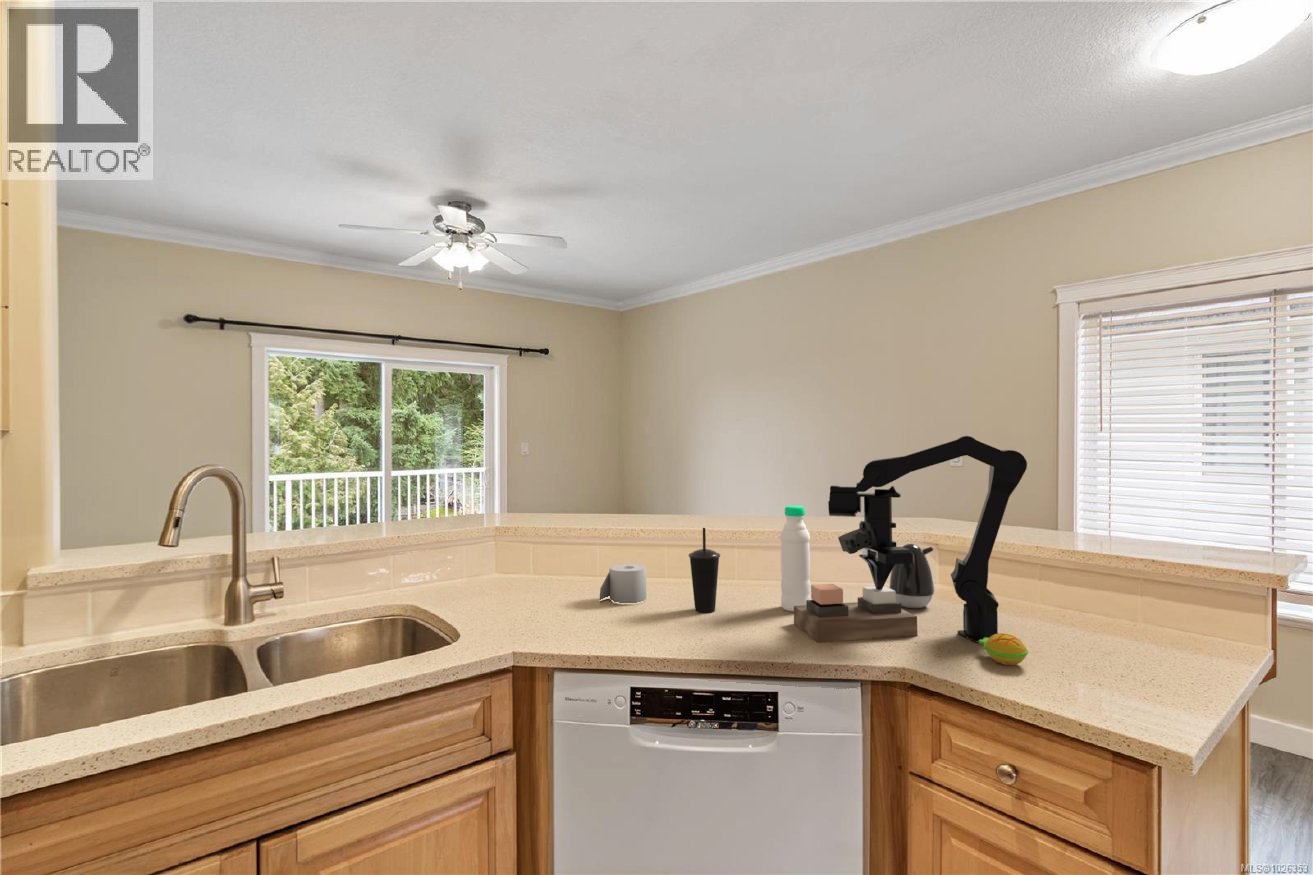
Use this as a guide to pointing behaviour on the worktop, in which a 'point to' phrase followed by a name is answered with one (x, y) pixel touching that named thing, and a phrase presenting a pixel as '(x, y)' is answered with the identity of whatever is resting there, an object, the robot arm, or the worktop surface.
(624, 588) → the toilet tissue
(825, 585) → the terracotta key
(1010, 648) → the maraca
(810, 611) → the console
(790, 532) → the water bottle
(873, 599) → the white key
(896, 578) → the pump dispenser
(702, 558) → the drinking cup
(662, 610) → the worktop surface
